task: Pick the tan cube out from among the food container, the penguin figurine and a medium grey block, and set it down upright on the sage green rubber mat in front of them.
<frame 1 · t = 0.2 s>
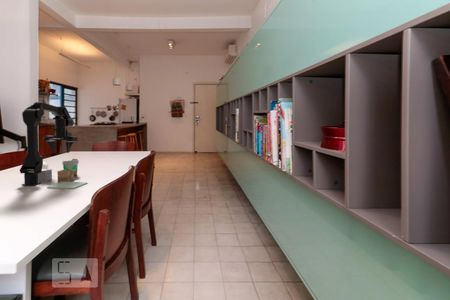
hand: (61, 152, 193), 14 cm above the table, tool pointing down, fingers open, 9 cm apart
sage mat: (68, 185, 166), on the table
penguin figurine: (43, 176, 190), on the table
medium grey block: (43, 180, 179), on the table
tan cube: (65, 181, 178), on the table
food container: (73, 176, 193), on the table
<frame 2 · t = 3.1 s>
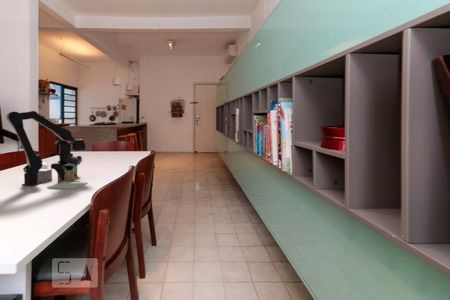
hand: (65, 179, 178), 1 cm above the table, tool pointing down, fingers closed on tan cube, 6 cm apart
tan cube: (65, 180, 178), on the table, touching gripper
everything else where it was.
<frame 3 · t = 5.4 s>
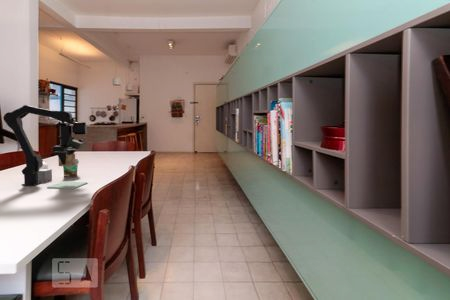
hand: (67, 163, 170), 11 cm above the table, tool pointing down, fingers closed on tan cube, 6 cm apart
tan cube: (67, 165, 170), point 10 cm above the table, touching gripper
everything else where it was.
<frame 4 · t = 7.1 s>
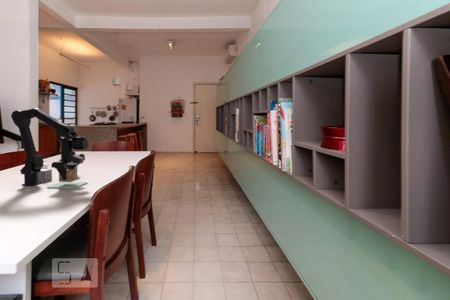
hand: (67, 178, 166), 4 cm above the table, tool pointing down, fingers closed on tan cube, 6 cm apart
tan cube: (67, 180, 166), point 3 cm above the table, touching gripper
everything else where it was.
when the fingers open (3 cm above the table, at t = 8.1 s): tan cube drops 1 cm, resting on sage mat.
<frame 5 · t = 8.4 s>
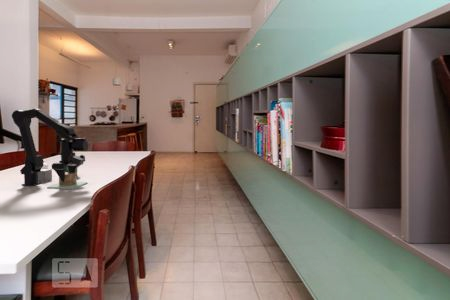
hand: (67, 180, 166), 3 cm above the table, tool pointing down, fingers open, 9 cm apart
tan cube: (68, 184, 166), point 1 cm above the table, touching sage mat
everything else where it was.
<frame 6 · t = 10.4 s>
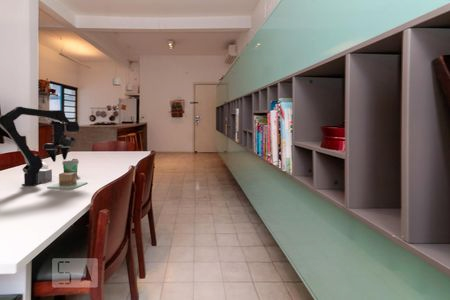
hand: (59, 160, 176), 12 cm above the table, tool pointing down, fingers open, 9 cm apart
nothing on the table moved.
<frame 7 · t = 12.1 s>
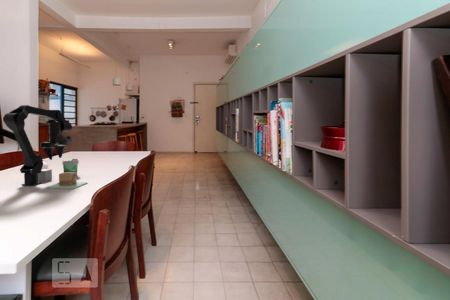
hand: (55, 158, 181), 12 cm above the table, tool pointing down, fingers open, 9 cm apart
nothing on the table moved.
at the end: tan cube inside the target area on the sage mat (0.0 cm from its centre), point 0.6 cm above the sage mat's base; tan cube tilted 0°; the gripper is holding nothing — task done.
